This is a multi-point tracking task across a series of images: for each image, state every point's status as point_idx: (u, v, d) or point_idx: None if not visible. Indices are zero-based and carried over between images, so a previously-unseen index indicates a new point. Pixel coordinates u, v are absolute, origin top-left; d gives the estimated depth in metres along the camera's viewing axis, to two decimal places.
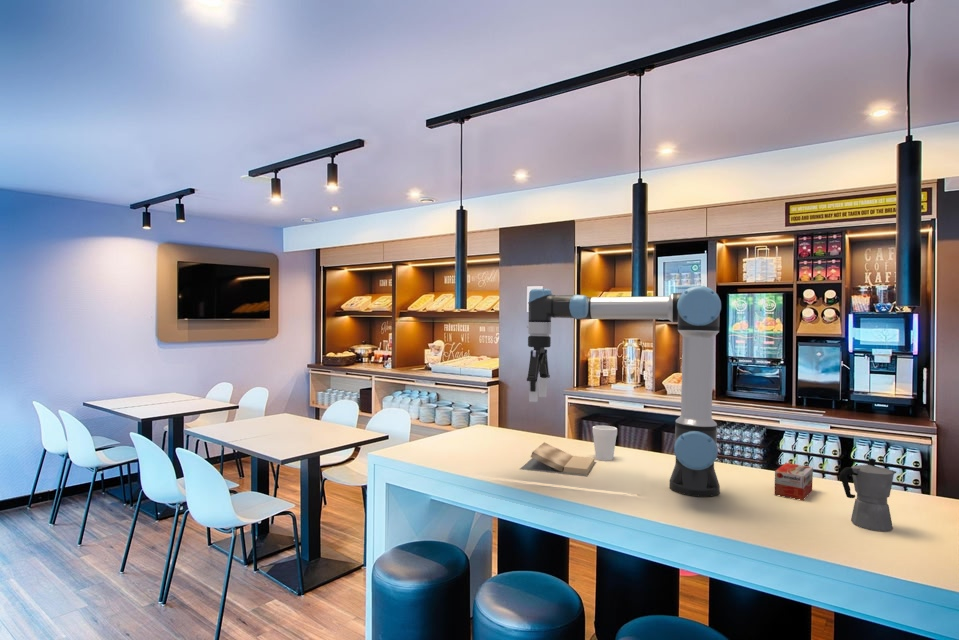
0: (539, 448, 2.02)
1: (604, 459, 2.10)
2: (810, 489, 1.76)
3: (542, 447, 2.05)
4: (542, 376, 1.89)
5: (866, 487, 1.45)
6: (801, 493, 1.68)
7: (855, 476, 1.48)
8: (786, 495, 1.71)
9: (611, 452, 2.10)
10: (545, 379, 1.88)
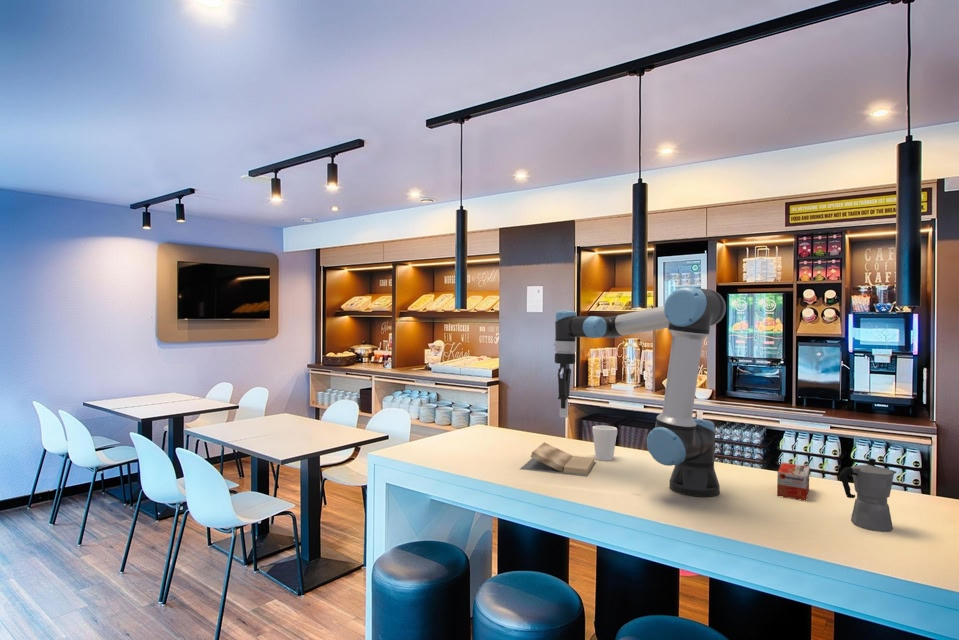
0: (539, 448, 2.02)
1: (604, 459, 2.10)
2: (808, 488, 1.76)
3: (542, 447, 2.05)
4: None
5: (866, 487, 1.45)
6: (804, 493, 1.68)
7: (855, 476, 1.48)
8: (789, 496, 1.70)
9: (611, 452, 2.10)
10: None
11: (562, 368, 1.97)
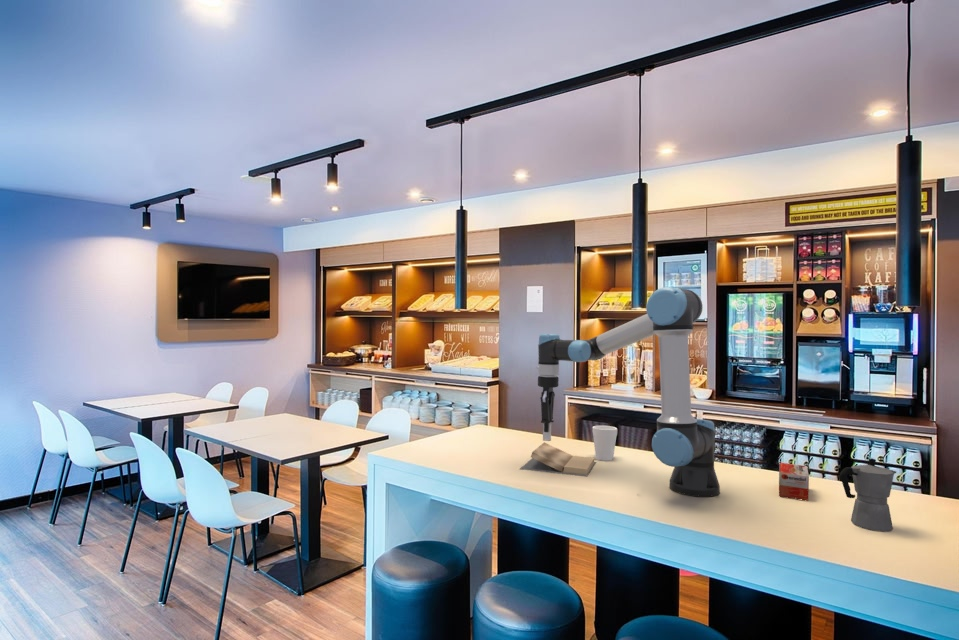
0: (539, 448, 2.02)
1: (604, 459, 2.10)
2: None
3: (542, 447, 2.05)
4: None
5: (866, 487, 1.45)
6: (807, 493, 1.67)
7: (855, 476, 1.48)
8: (791, 496, 1.70)
9: (611, 452, 2.10)
10: None
11: (545, 392, 1.96)
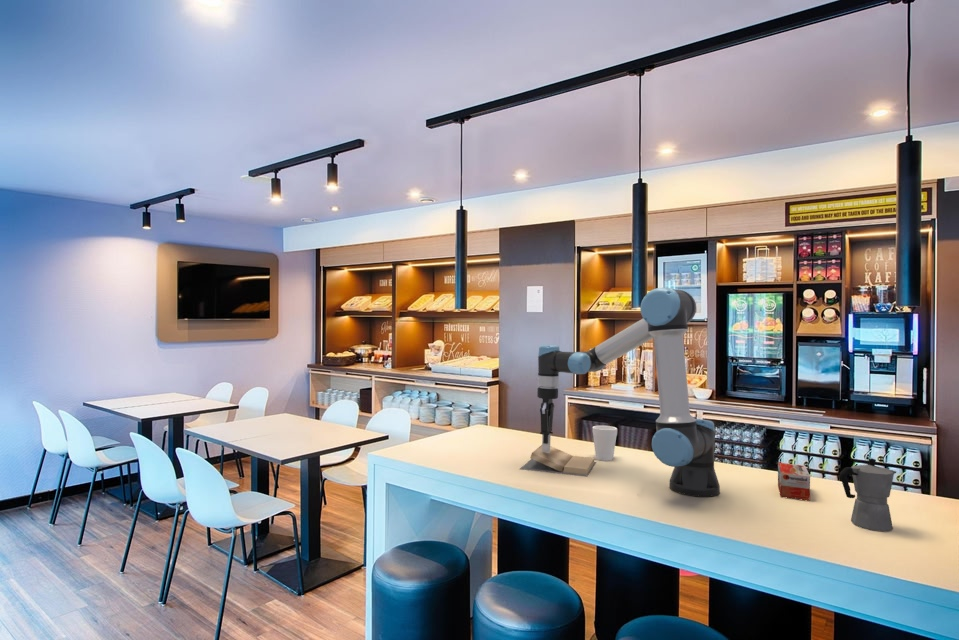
0: (539, 449, 2.02)
1: (604, 459, 2.10)
2: None
3: (541, 448, 2.05)
4: None
5: (866, 487, 1.45)
6: (808, 494, 1.67)
7: (855, 476, 1.48)
8: (793, 496, 1.69)
9: (611, 452, 2.10)
10: None
11: (544, 403, 1.96)
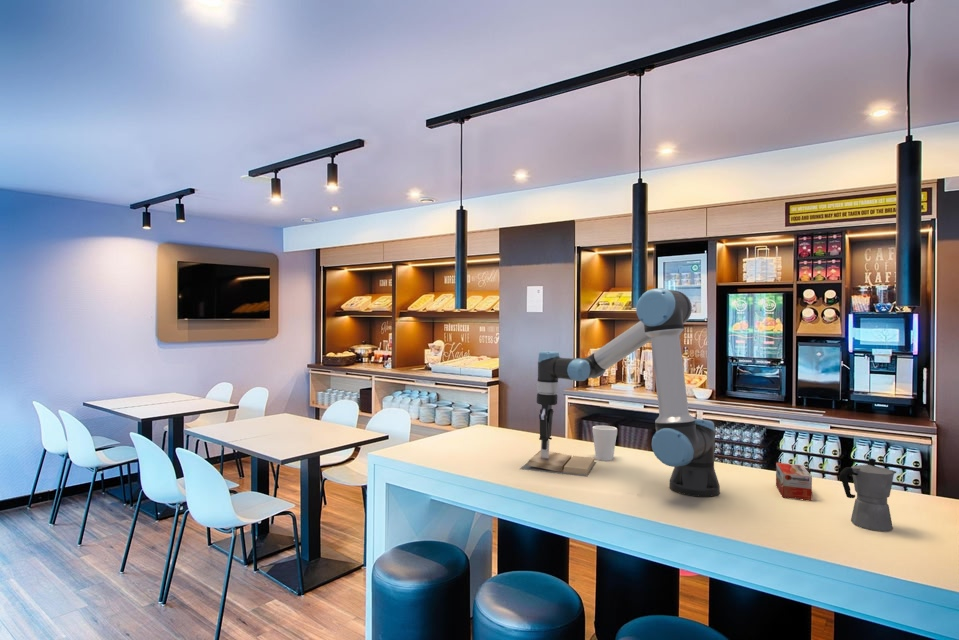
0: (536, 455, 2.03)
1: (604, 459, 2.10)
2: None
3: (539, 454, 2.05)
4: None
5: (866, 487, 1.45)
6: (810, 494, 1.67)
7: (855, 476, 1.48)
8: (795, 497, 1.69)
9: (611, 452, 2.10)
10: None
11: (544, 409, 1.96)
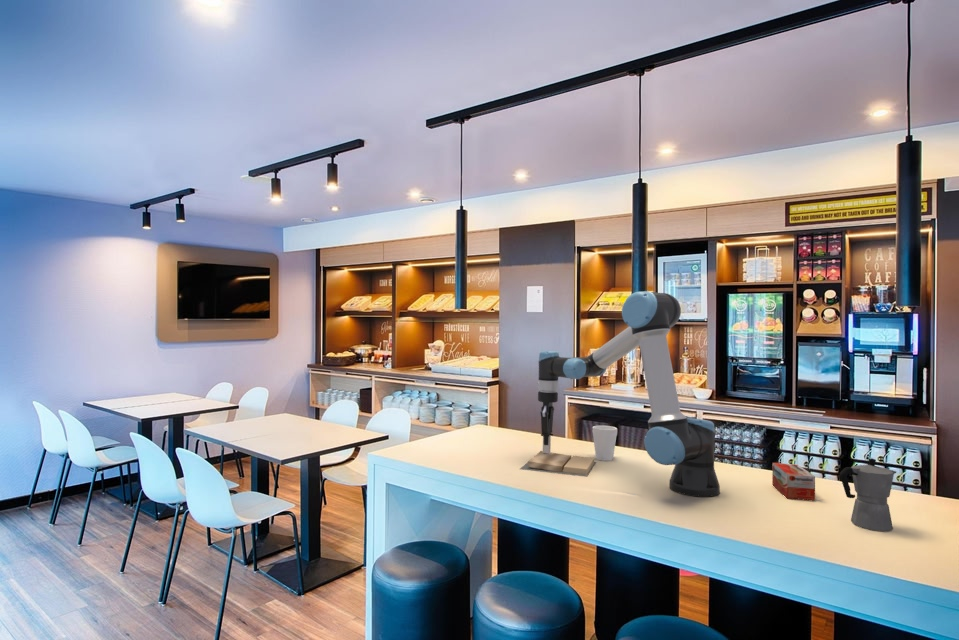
0: (536, 457, 2.03)
1: (604, 459, 2.10)
2: None
3: (539, 455, 2.05)
4: None
5: (866, 487, 1.45)
6: (814, 494, 1.67)
7: (855, 476, 1.48)
8: (798, 497, 1.68)
9: (611, 452, 2.10)
10: None
11: (545, 406, 2.05)
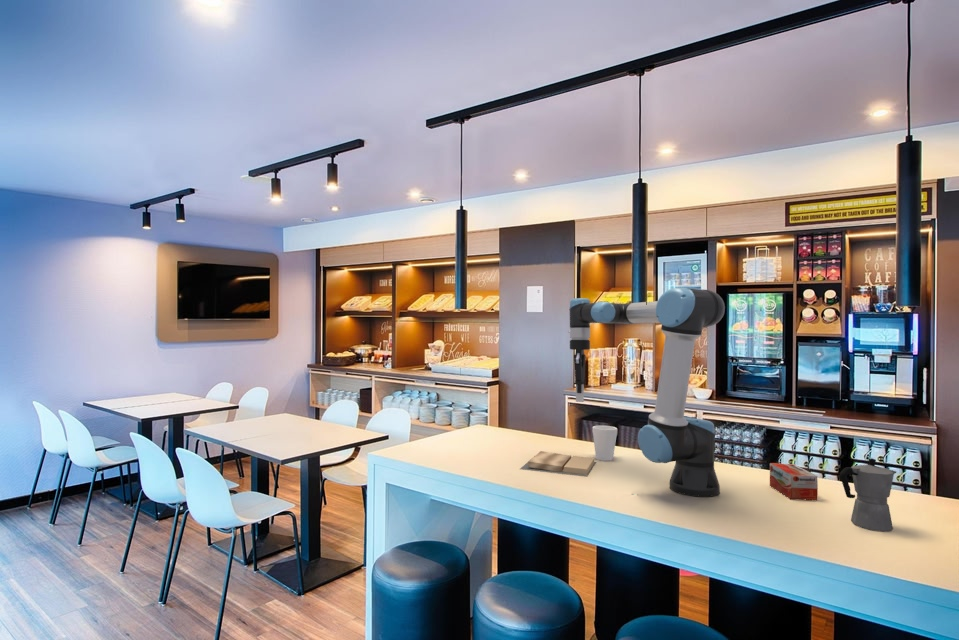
0: (535, 457, 2.03)
1: (604, 459, 2.10)
2: None
3: (539, 455, 2.05)
4: None
5: (866, 487, 1.45)
6: (816, 493, 1.68)
7: (855, 476, 1.48)
8: (802, 498, 1.68)
9: (611, 452, 2.10)
10: None
11: (578, 353, 2.04)
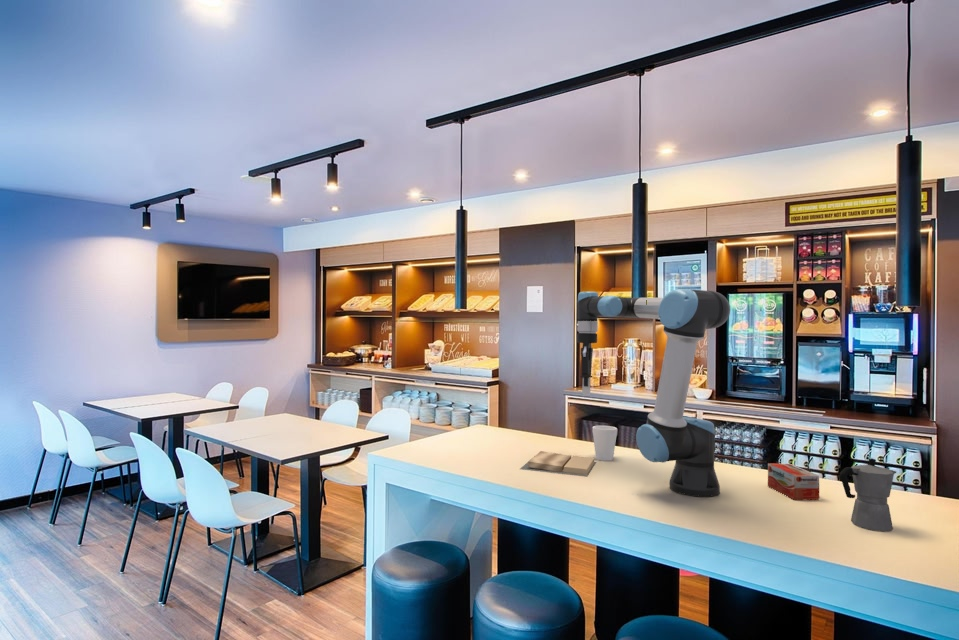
0: (535, 457, 2.03)
1: (604, 459, 2.10)
2: None
3: (539, 455, 2.05)
4: None
5: (866, 487, 1.45)
6: (818, 493, 1.68)
7: (855, 476, 1.48)
8: (804, 498, 1.68)
9: (611, 452, 2.10)
10: None
11: (585, 347, 2.04)
